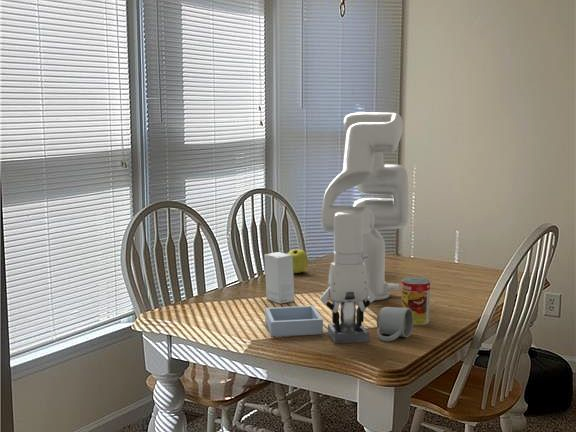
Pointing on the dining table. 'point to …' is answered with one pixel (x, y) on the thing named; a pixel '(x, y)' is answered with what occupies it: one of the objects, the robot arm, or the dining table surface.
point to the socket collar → (348, 334)
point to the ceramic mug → (394, 322)
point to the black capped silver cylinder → (348, 314)
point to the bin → (293, 321)
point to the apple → (299, 260)
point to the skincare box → (279, 277)
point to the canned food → (417, 298)
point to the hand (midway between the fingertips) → (347, 324)
